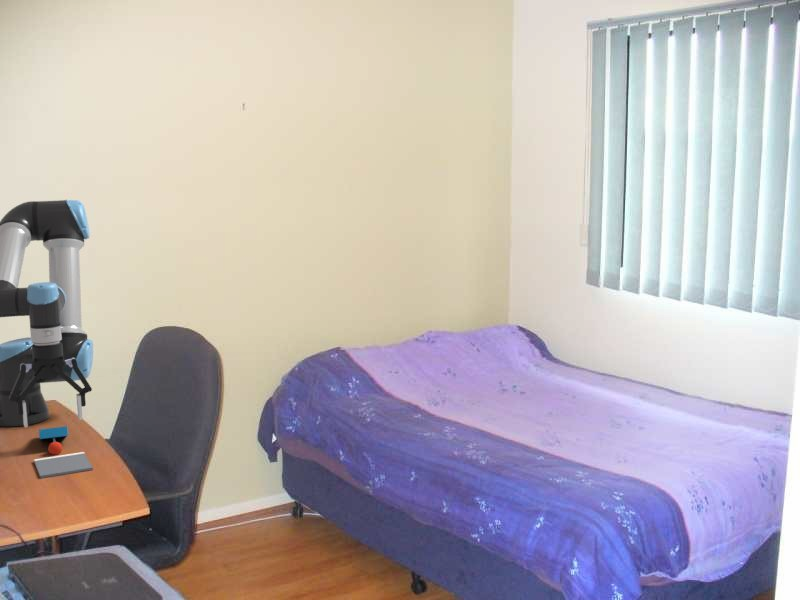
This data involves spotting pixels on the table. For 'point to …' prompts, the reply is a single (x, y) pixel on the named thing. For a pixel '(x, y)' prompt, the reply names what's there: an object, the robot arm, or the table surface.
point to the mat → (62, 464)
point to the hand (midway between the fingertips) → (53, 422)
